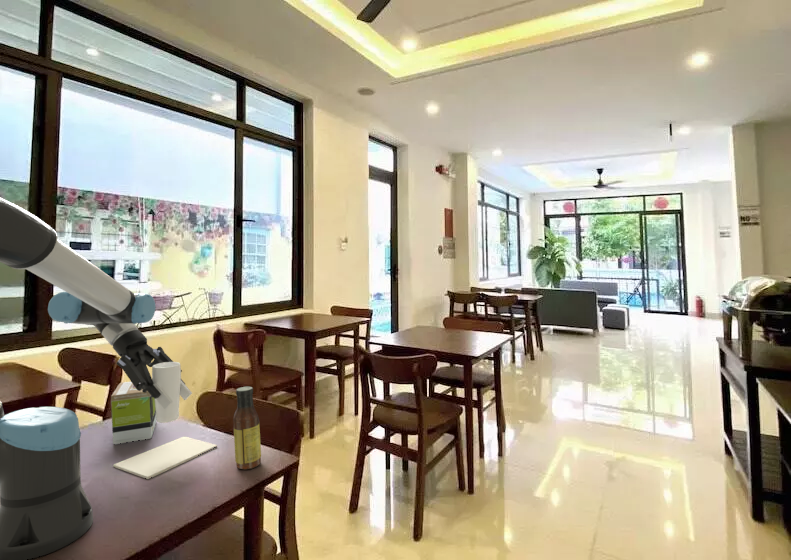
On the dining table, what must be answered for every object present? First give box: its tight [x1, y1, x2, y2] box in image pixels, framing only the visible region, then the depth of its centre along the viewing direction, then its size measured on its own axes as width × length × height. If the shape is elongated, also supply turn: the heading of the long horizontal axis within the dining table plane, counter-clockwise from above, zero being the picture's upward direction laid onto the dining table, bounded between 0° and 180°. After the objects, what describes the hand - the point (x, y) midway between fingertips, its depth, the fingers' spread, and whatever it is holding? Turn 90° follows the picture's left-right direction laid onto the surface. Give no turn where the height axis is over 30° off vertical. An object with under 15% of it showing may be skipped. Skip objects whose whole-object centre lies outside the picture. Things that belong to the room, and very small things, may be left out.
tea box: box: [110, 381, 157, 445], centre depth 129 cm, size 15×10×15 cm, turn 25°
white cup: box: [151, 361, 182, 424], centre depth 112 cm, size 7×7×15 cm
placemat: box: [112, 436, 218, 480], centre depth 113 cm, size 20×14×1 cm
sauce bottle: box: [232, 386, 262, 471], centre depth 107 cm, size 6×6×20 cm
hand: (178, 400), depth 112 cm, fingers closed on white cup, 7 cm apart
